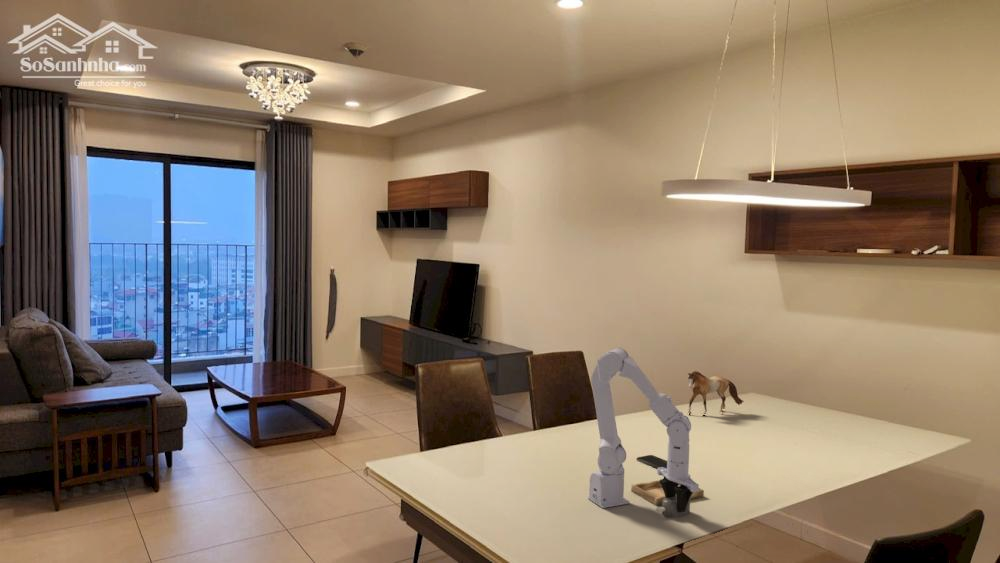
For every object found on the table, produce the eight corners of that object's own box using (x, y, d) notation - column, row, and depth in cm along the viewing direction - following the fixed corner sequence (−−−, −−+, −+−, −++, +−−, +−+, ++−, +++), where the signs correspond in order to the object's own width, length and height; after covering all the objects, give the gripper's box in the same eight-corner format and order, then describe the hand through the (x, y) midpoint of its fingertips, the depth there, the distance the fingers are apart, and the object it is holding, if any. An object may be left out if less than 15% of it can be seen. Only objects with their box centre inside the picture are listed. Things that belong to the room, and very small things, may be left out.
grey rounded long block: (662, 519, 169) (662, 505, 169) (653, 514, 172) (654, 500, 172) (692, 513, 173) (692, 499, 173) (683, 508, 177) (684, 494, 176)
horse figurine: (688, 418, 275) (690, 372, 274) (677, 414, 282) (679, 369, 281) (744, 414, 286) (746, 369, 285) (732, 409, 294) (733, 366, 293)
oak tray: (656, 505, 178) (656, 498, 178) (631, 491, 188) (631, 484, 188) (703, 497, 185) (703, 490, 185) (677, 483, 196) (677, 477, 196)
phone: (667, 471, 205) (635, 457, 218) (667, 474, 205) (635, 460, 218) (684, 467, 209) (651, 454, 222) (683, 471, 209) (651, 457, 222)
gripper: (708, 466, 168) (705, 516, 168) (671, 450, 181) (670, 496, 181) (687, 470, 165) (685, 520, 165) (652, 453, 178) (650, 500, 178)
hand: (676, 508), depth 173 cm, fingers open, 4 cm apart
